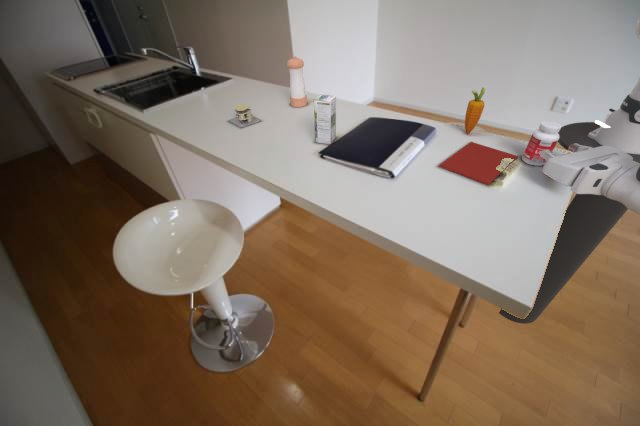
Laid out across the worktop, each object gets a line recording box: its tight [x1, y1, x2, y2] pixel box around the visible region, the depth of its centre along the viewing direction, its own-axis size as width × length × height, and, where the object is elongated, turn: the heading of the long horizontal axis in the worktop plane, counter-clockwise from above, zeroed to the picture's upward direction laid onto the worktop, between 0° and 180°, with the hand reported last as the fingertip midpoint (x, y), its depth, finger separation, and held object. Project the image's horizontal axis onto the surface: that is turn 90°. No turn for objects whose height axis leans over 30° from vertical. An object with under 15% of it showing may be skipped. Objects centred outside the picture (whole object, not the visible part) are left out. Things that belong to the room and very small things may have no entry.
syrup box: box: [313, 94, 337, 145], centre depth 95 cm, size 6×6×14 cm
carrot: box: [464, 87, 486, 135], centre depth 94 cm, size 5×5×15 cm
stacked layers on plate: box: [229, 103, 261, 129], centre depth 114 cm, size 10×9×6 cm
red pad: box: [438, 141, 519, 186], centre depth 84 cm, size 20×14×1 cm
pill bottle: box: [521, 120, 563, 167], centre depth 80 cm, size 6×6×11 cm
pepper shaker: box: [286, 55, 308, 108], centre depth 123 cm, size 7×7×19 cm
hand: (557, 149), depth 77 cm, fingers open, 8 cm apart
